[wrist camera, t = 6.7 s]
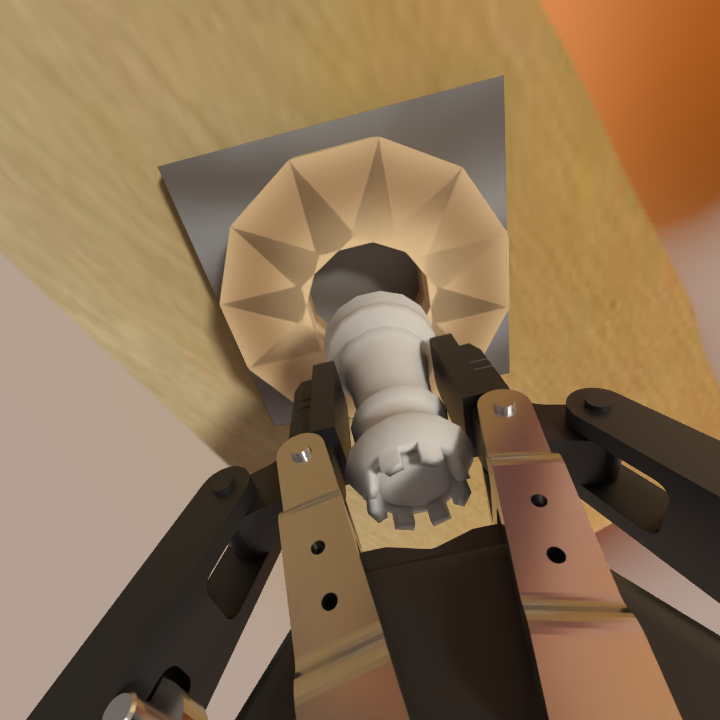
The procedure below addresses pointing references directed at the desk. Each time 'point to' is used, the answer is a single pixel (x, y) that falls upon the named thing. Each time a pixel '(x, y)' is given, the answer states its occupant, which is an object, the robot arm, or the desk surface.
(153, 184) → the desk surface
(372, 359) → the rook chess piece
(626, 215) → the desk surface
